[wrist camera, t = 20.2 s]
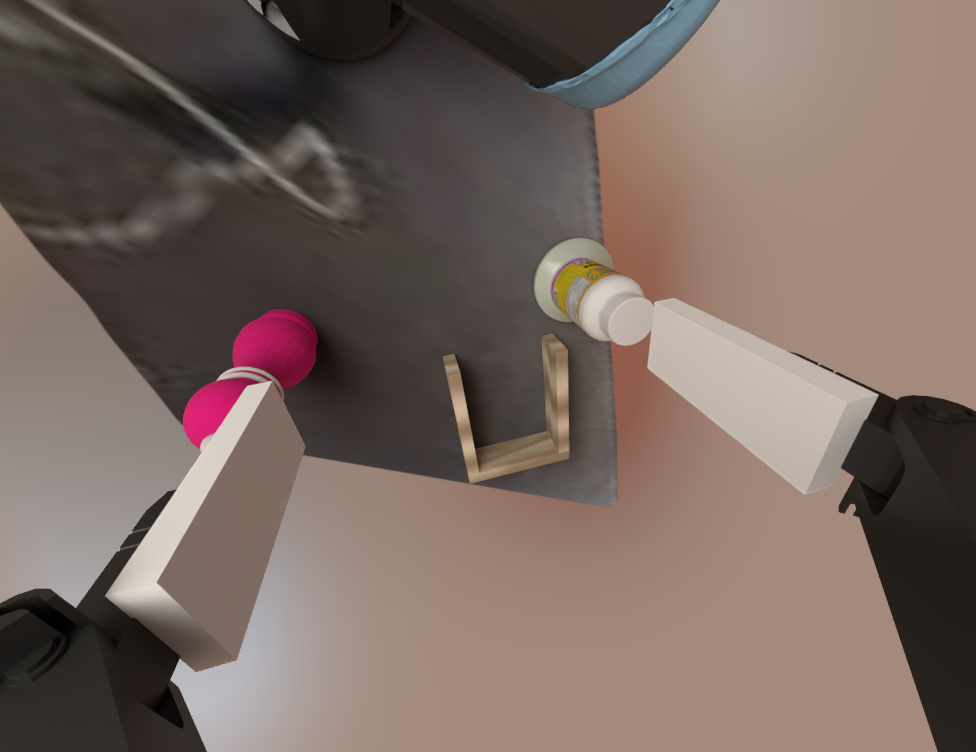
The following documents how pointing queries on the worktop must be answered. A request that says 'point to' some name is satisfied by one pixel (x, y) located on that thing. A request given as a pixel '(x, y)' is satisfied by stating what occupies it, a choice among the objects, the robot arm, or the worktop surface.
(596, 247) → the sage green dome
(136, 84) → the worktop surface
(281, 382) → the pepper mill
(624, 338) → the supplement bottle
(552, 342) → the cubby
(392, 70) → the worktop surface
